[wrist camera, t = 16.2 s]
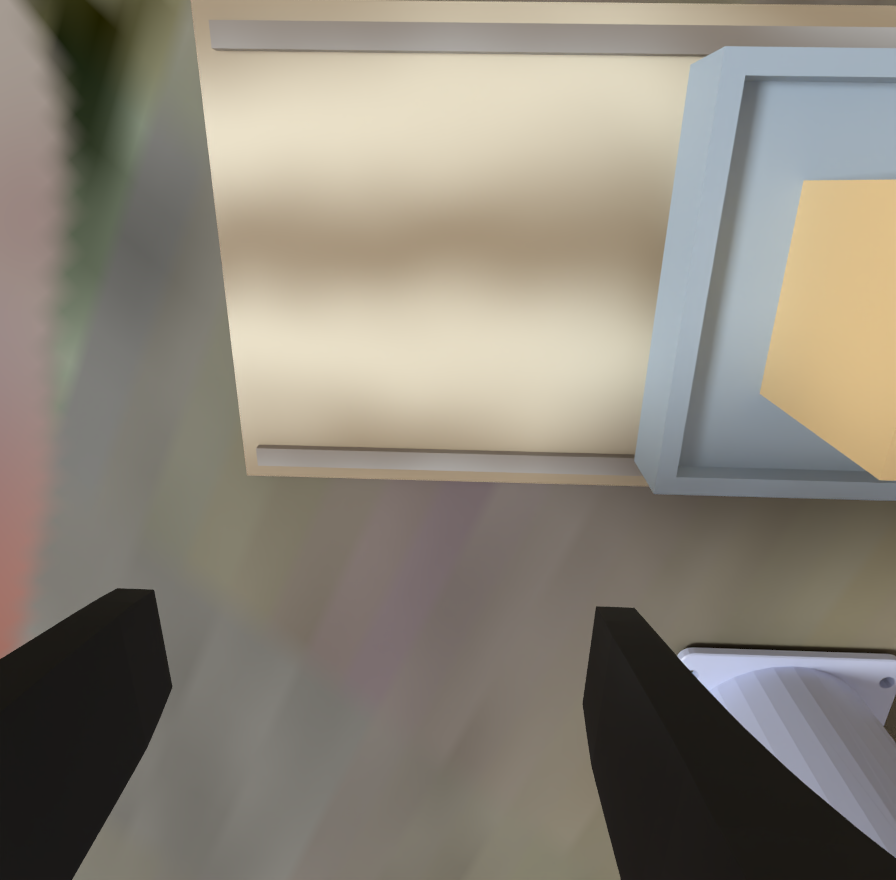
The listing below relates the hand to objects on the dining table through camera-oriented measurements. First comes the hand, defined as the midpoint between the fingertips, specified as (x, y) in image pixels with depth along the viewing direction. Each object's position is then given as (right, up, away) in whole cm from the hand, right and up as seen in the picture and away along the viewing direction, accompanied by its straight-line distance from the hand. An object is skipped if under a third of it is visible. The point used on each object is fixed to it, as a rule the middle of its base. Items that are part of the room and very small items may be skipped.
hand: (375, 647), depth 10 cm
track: (+7, +8, +8) cm, 13 cm away
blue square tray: (+12, +8, +7) cm, 16 cm away
